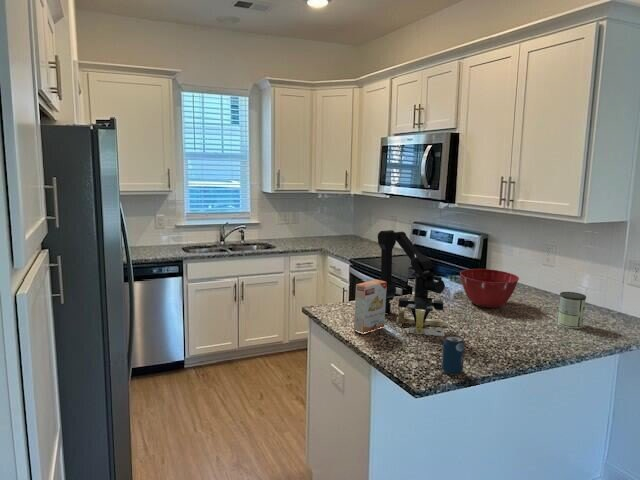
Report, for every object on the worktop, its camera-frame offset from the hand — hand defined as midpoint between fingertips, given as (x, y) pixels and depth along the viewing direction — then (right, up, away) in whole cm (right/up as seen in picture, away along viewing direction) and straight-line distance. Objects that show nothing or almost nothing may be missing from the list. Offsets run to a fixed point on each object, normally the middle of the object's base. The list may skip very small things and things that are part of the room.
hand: (419, 322), depth 202 cm
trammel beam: (0, -2, +1) cm, 2 cm away
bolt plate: (-1, -3, -5) cm, 6 cm away
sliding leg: (0, -2, 0) cm, 2 cm away
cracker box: (-22, -3, -4) cm, 23 cm away
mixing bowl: (+43, +3, +38) cm, 57 cm away
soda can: (+2, -9, -43) cm, 44 cm away
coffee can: (+70, -3, +8) cm, 70 cm away
